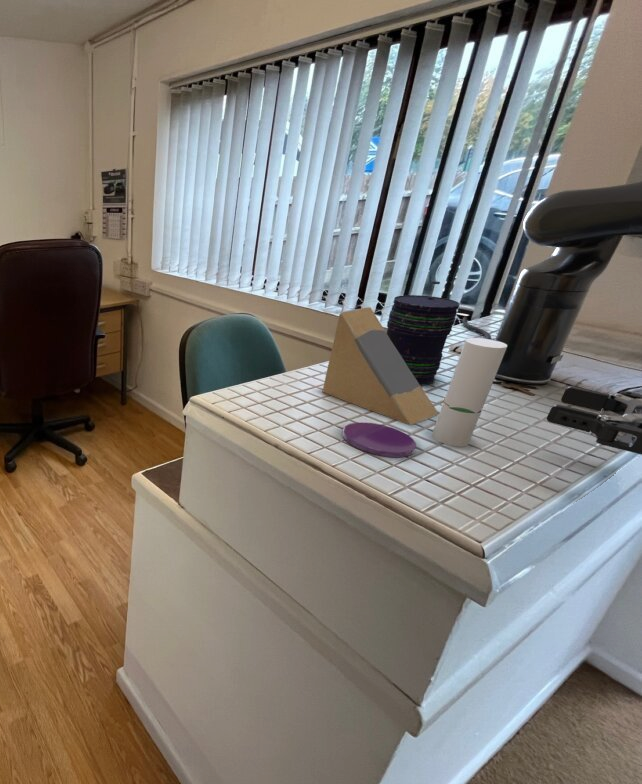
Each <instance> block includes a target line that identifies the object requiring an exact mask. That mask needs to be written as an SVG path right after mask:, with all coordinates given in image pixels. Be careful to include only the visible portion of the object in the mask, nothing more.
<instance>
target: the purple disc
mask: <svg viewBox="0 0 642 784" xmlns="http://www.w3.org/2000/svg"><path fill="white" fill-rule="evenodd" d="M342 438H343V439H344V441H346V442H347V443H348V444H349V445H351V446H352V447H355V448H356V449H358V450H360V451H363V452H366V453H369V454H371V455H372V454H373V455H376V456H381V457H388V458H405V457H409V456H411V455H412V454H414V453H415V451H416V447H417V442H416V441H415V440H414V439H413V438H412V436H410V435H409V434H407V433H406V432H404V431H401V430H399V429H397V428H394V427H391V426H388V425H384V424H379V423H375V422H374V423H373V422H352V423H349V424H347V425H345V426H344V428H343V430H342Z"/></svg>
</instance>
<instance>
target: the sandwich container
mask: <svg viewBox="0 0 642 784" xmlns="http://www.w3.org/2000/svg"><path fill="white" fill-rule="evenodd" d="M322 392H323V393H324V394H326V395H328V396H332V397H335V398H337V399H339V400H342V401H345V402H347V403H349V404H352V405H355V406H358V407H360V408H362V409H365V410H368V411H371V412H373V413H377V414H379V415H382V416H385V417H388V418H390V419H393V420H395V421H398V422H401V423H404V424H407V425H408V426H412V425H415V424H417V423H421V422H423V421H427V420H429V419H431V418H433V417H435V416H436V415H437V416H438V415H439V413H440V412H439V411H438V410H437V408H436V407H435V405H434V404H433V402H432V401H431V399H430V398H429V397H428V395H427V394H426V392H425V390H424V388H422V385H419V383H418V381H417V380H416V378H415V377H414V375H413V374H412V372H411V371H410V369H409V368H408V366H407V365H406V363H405V361H404V360H403V358H402V357H401V355H400V354H399V352H398V351H397V349H396V347H395V346H394V344H393V343H392V341H391V340H390V338H389V337H388V335H387V331H386V330H385V328H384V327H383V325H382V324H381V321H380V320H379V318H378V317H377V316H376V314H375V312H374V310H373V309H372V307H371V306H367V307H362V308H356V309H350V310H346V311H342V312H340V314H339V315H338V319H337V324H336V329H335V333H334V337H333V342H332V346H331V351H330V355H329V360H328V364H327V370H326V374H325V378H324V382H323V387H322Z"/></svg>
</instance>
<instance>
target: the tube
mask: <svg viewBox="0 0 642 784" xmlns="http://www.w3.org/2000/svg"><path fill="white" fill-rule="evenodd" d="M506 348H507V345H506V344H505V343H502V342H499V341H495V339H491V340H490V339H486V338H482V337H469V338H466V339H465V340H464V343H463V346H462V349H461V352H460V354H459V357H458V360H457V363H456V366H455V368H454V371H453V374H452V377H451V380H450V383H449V386H448V389H447V391H446V394H445V396H444V400H443V402H442V405H441V408H440V410H439V412H438V413H439V414H438V415H437V419H436V422H435V424H434V428H433V431H432V433H431V437H432V438H433V439H434V440H435V441H437V442H440V443H441V444H445V445H447V446H453V447H461V448H462V447H467V446H468V445H469V444H470V442H471V438H472V436H473V433H474V431H475V428H476V426H477V423H478V421H479V418H480V416H481V414H482V410H483V409H484V406H485V404H486V401H487V399H488V396H489V394H490V392H491V388H492V386H493V383H494V381H495V379H496V378H495V376H496V373H497V371H498V368H499V366H500V363H501V361H502V358H503V356H504V353H505V351H506Z"/></svg>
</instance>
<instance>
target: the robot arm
mask: <svg viewBox="0 0 642 784" xmlns="http://www.w3.org/2000/svg"><path fill="white" fill-rule="evenodd" d="M522 225H523V226H522V230H523V233H524V235H525V237H526V238H527V239H528V240H529V241H530V242H531V243H533V244H534V245H538V246H541V247H544V248H550V249H551V248H555V250H554V252H553V253H552V254H551V255H549V256H548V257H547V258H545V259H544V260H542V261H540V262H538V263H536V264H533V265H529V266H527V267H526V268H524V269H523V270H522V271H521V272H520V274H519V276H518V278H517V282H516V284H515V287H514V289H513V292H512V295H511V297H510V300H509V302H508V306H507V308H506V310H505V312H504V316H503V318H502V322H501V324H500V326H499V329H498V331H497V333H496V337H495V339H494V340H495V341H499V342H502V343H505V344H506V345H507V348H506V351H505V353H504V356H503V358H502V361H501V363H500V366H499V368H498V371H497V373H496V376H495V379H499V380H503V381H507V382H511V383H515V384H523V385H537V386H538V385H546V384H548V383H549V382H550V381H551V379H552V374H553V372H554V370H555V368H556V366H557V363H558V362H561V361H562V359H563V357H564V354H562V352H563V350H564V348H565V346H566V344H567V341H568V339H569V336H570V335H571V332H572V330H573V328H574V325H575V324H576V321H577V319H578V317H579V314H580V312H581V309H582V307H583V305H584V303H585V301H586V298H587V297H588V294H589V292H590V289H591V287H592V286H593V283H595V281H596V280H597V279H598V278H599V277H600V276H601V275H602V274H603V273H604V272H605V271H606V270H607V268H608V266H609V264H610V262H611V260H612V259H613V256H615V253H616V251H617V249H618V247H619V245H620V244H621V241H622V240H623V238H624V237H627V236H629V237H630V236H634V237H642V180H639V181H634V182H630V183H625V184H617V185H612V186H611V185H610V186H603V187H593V188H580V189H565V190H561V191H557V192H555V193H551V194H550V195H548V196H546V197H544V198H542V199H541V200H539V201H538V202H537V203H536V204H535V205H534V206H533V207H531V209H530V210H529V211H528V212H527V214H526V216H525V217H524V220H523V224H522ZM460 322H461V323H462V325H463V327H465V328H467V329H469V330H471V331H474V332H477V333H478V334H481V335H483V336H485V339H490V340H492V336H491V335H492V334H490V333H489V332H488V331H486V330H484V329H482V328H479V327H476V326H474V325H472V324H469V323H468V317H467V316H464V317H463V318H462V319H461V320H460ZM560 401H561V403H563V404H566V405H571V406H574V407H571V406H566V405H562V404H554V405H552V407H551V408H550V410H549V412H548V415H547V417H546V421H547V422H549V423H551V424H554V425H558V426H563V427H567V428H571V429H574V430H578V431H583V432H586V433H590V436H592V437H593V438H595V439H596V440H595V442H596V444H598V445H602V446H606V447H609V448H614V449H618V450H622V451H625V452H630V453H634V454H637V455H641V456H642V394H641V393H636V392H632V391H630V390H621V391H620V392H619V393H616V392H612V393H610V394H609V393H604V392H600V391H596V390H590V389H587V388H582V387H577V386H567V387H566V388H565V390H564V391H563V394H562V396H561V398H560ZM575 407H578V408H575ZM580 408H583V409H580ZM584 409H588V410H591V411H588V410H584ZM592 411H595V412H592ZM597 412H602V413H605V414H601V415H599V413H597Z"/></svg>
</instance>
